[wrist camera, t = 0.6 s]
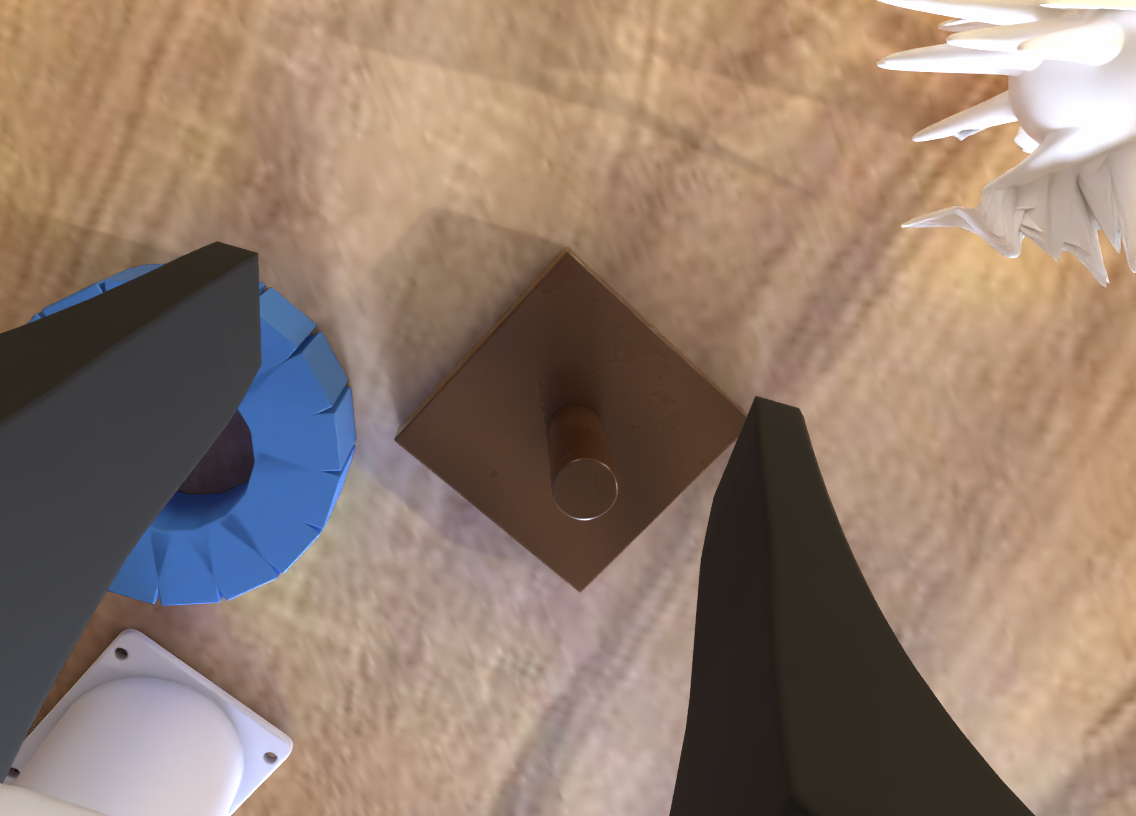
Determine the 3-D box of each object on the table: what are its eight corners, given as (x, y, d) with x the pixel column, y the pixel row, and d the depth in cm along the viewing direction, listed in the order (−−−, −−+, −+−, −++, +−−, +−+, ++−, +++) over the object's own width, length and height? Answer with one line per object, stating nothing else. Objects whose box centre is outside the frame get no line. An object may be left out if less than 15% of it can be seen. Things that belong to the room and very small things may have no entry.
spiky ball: (818, 251, 35) (901, 326, 28) (812, -124, 30) (911, -161, 23) (1130, 212, 35) (1301, 276, 27) (1174, -171, 30) (1395, -223, 23)
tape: (226, 618, 37) (200, 664, 34) (-32, 430, 35) (-85, 462, 32) (418, 409, 35) (409, 438, 32) (160, 193, 33) (123, 202, 29)
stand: (578, 579, 37) (591, 676, 31) (397, 429, 35) (370, 501, 29) (746, 412, 36) (796, 479, 29) (566, 245, 34) (578, 278, 27)
